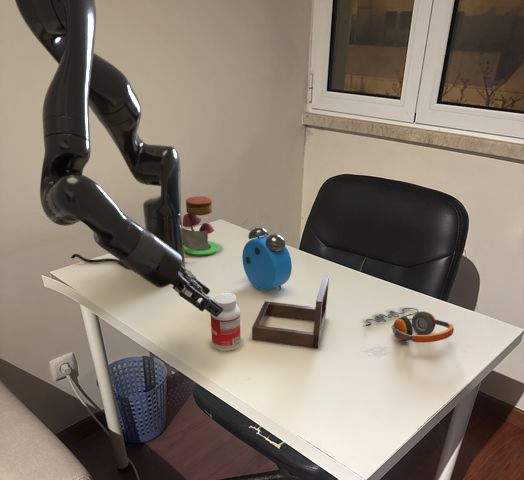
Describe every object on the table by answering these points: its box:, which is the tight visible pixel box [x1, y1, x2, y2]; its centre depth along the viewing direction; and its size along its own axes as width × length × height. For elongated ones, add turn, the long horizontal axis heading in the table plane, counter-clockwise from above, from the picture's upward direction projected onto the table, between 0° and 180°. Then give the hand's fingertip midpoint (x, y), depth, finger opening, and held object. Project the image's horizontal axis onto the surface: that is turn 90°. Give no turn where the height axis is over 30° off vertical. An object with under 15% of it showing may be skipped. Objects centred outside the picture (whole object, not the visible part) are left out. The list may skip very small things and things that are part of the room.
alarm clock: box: [241, 226, 293, 292], centre depth 127 cm, size 13×6×15 cm, turn 39°
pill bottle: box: [209, 292, 242, 352], centre depth 105 cm, size 6×6×11 cm
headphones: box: [362, 307, 455, 343], centre depth 111 cm, size 17×5×20 cm
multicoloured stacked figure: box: [182, 195, 220, 257], centre depth 148 cm, size 12×13×15 cm
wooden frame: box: [251, 275, 330, 349], centre depth 110 cm, size 14×12×11 cm
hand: (213, 302), depth 101 cm, fingers open, 8 cm apart
